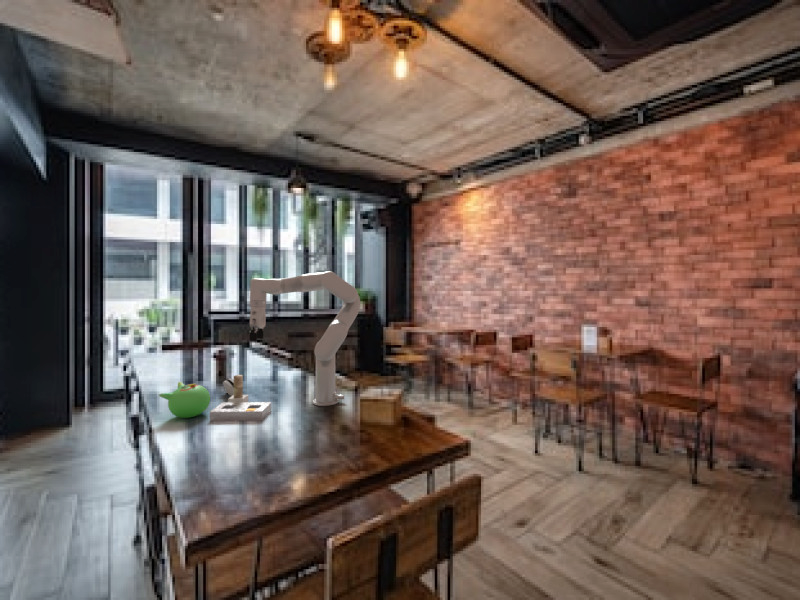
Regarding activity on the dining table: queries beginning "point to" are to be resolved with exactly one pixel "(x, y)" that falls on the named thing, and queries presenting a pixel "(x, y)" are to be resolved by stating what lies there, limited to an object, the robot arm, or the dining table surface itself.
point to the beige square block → (238, 399)
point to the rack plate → (241, 411)
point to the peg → (238, 386)
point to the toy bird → (187, 400)
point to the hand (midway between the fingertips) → (256, 339)
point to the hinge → (229, 386)
